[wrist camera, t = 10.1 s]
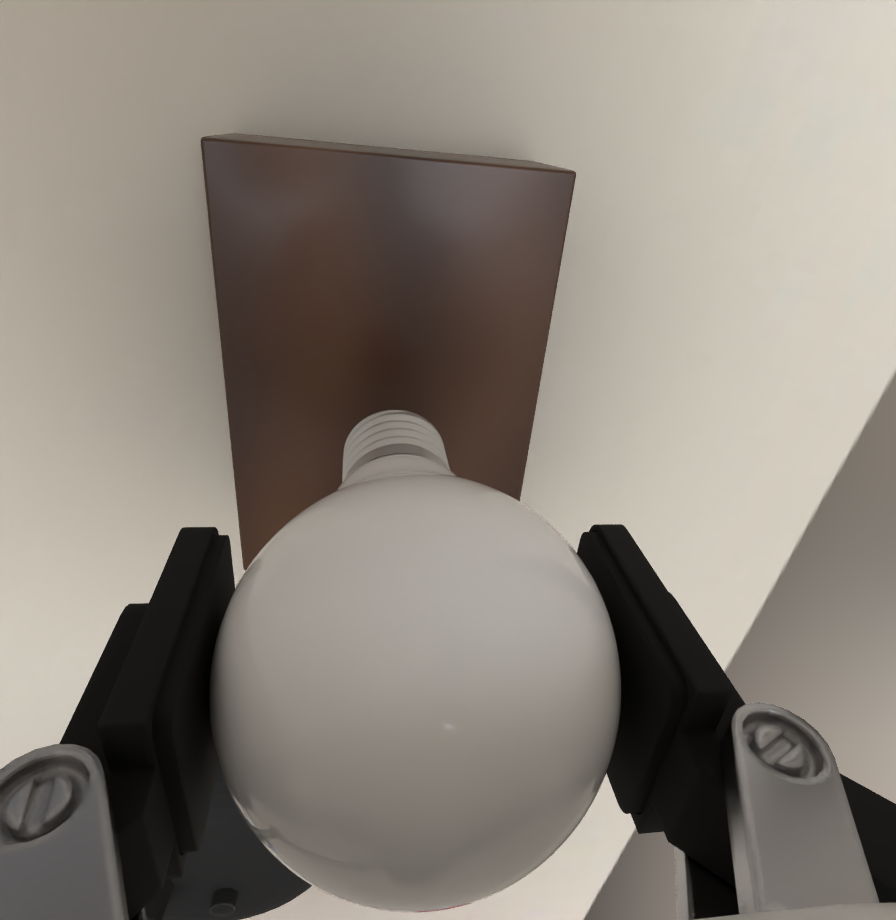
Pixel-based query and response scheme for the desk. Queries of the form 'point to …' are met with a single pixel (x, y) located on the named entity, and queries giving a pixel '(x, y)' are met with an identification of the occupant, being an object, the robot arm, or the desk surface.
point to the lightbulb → (414, 683)
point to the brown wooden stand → (376, 307)
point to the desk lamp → (226, 872)
